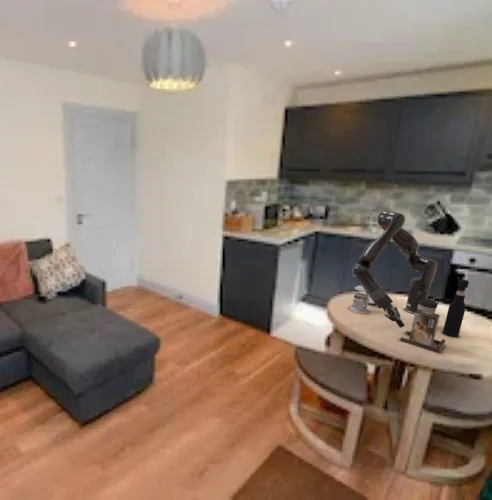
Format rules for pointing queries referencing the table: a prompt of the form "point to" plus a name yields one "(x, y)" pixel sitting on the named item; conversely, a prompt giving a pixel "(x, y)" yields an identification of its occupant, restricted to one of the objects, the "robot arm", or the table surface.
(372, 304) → the spread jar
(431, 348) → the bay
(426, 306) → the coffee cup
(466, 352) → the table surface
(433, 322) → the coffee box
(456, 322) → the dark water bottle
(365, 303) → the french press
